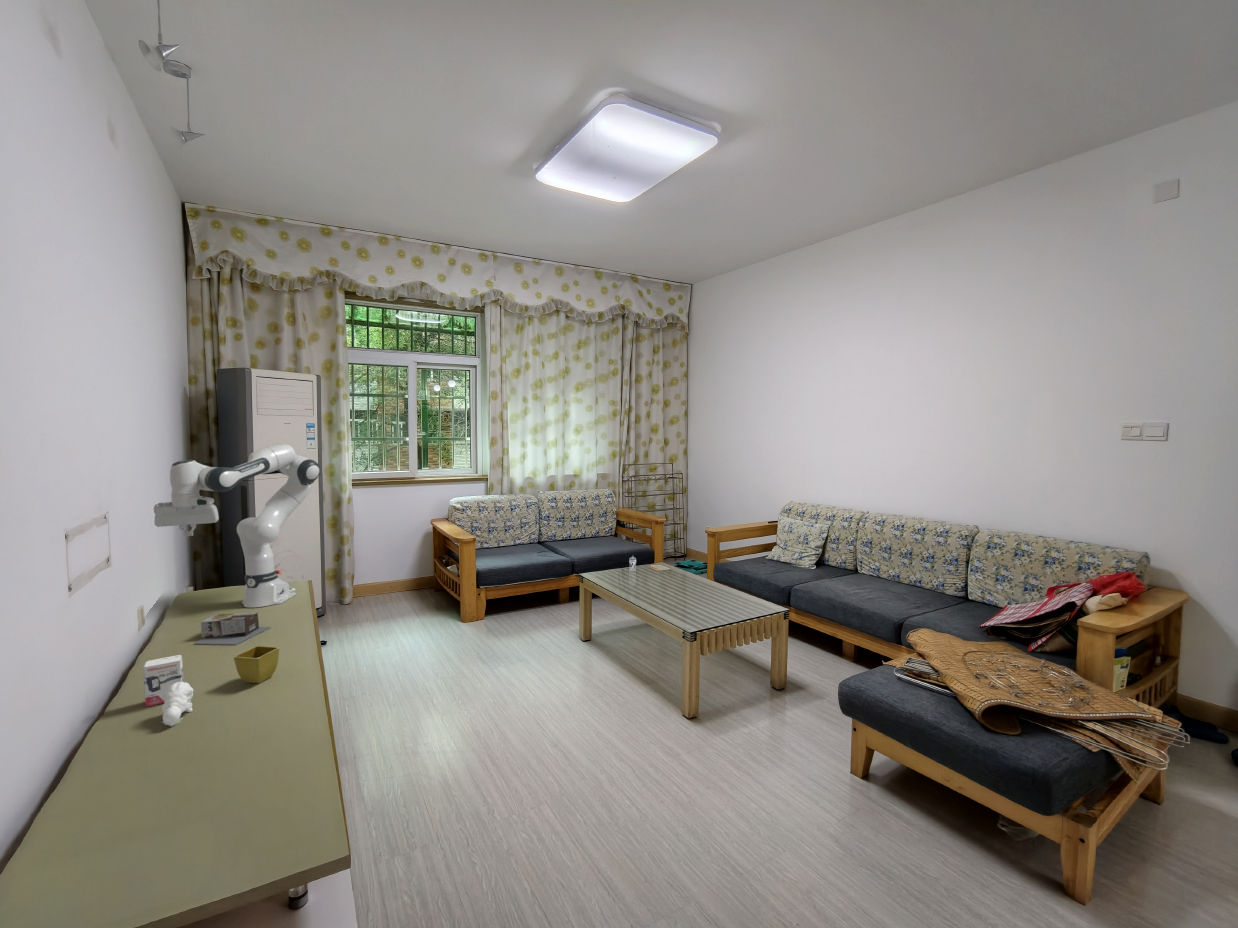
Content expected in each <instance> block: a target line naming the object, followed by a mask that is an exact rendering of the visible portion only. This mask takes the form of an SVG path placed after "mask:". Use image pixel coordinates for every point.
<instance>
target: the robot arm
mask: <svg viewBox="0 0 1238 928" xmlns="http://www.w3.org/2000/svg"><path fill="white" fill-rule="evenodd" d="M275 471H276V472H278V473H280V474H281V475H283V476H284V475H285V476H286V477H288V478H287V480H286V482H285V484H284V485H282V486H281V487H280V488H279V489H278V490H277V491H276V492H275V493H274V494H273V495H272V496H271V497H270V499H268V500H267V502H266V503H265V506H264V508H263V509H262V511H261V512H260V514H259V516H257V517H255V516H250V517H247V518H244V519H242V520H240V522H239V523H238V524H237V526H236V533H237V535H238V538H239V540H240V541H239V542H240V545H241V547H242V552H243V556H244V566H245V567H244V568H245V574H244V583H245V585H244V590H243V600H241V601H242V602H241V603H242V605H243V607H244V608H249V609H250V608H261V607H267V606H268V607H269V606H273V605H279V604H280V605H281V604H282V603H285V602H286V601H287V600H290V598H293V597H294V596H296V594H297V593H296V592H295V591H291V589H290V585H289V583H288V582H286V581H285V580H283V579H282V578H279V576H278V575H281V574H282V573H283V572H282V571H283V570H282V569H276V570H275V558H274V557H275V556H274V555H275V554H274V552H273V551H272V548H271V546H270V543H272V542H274V541H276V540H277V539H278V537H279V536H280V530H281V528H282V527H283V525H284V524H285V523H286V521H287V519H288V518H289V517H290V516H291V515H292V513H293V512H294V511H295V510H296V509H297V508H298V507H299V506H300V504H302V502H303V501H304V500H305V498H306V497H307V496H308V494H309V492H310V491H311V488H312V486H311V485H312V484H313V483H314V482H315V481H316V480H317V479H318V478H319V477H320V476H319V475H320V473H321V466H320V463H318V462H317V461H315V460H313V459H310V458H308V457H307V456H304V455H299V454H297V453H296V450H295V449H294V447H292V445H290V444H285V443H283V444H282V443H281V444H275V445H269V446H266V447H262V448H259V449H257V450H255V451H253V452H251V453H250V454H249V456H248V459H247V462H245V463H242V464H240V465H236V466H234V467H230V466H227V467H226V466H220V467H219V466H218V467H217V466H215V467H213V466H209V465H205V464H202V463H200V462H197V461H196V460H195V459H185V460H184V459H183V460H179V461H176V462H173V464H171V466H170V473H169V474H170V475H169V477H170V478H169V480H170V482H169V483H170V486H171V493H170V494H171V495H170V496H171V497H170V498H171V502H170V501H169V502H168V501H167V502H158V503H157V504H155V505H154V506H153V512H154V526H156V527H158V528H162V527H176V526H178V529H179V530H180V531H181V532H182V535H183V536H182V537H193V536H194V531H195V529H196V528H197V525H202V524H205V525H206V524H213V523H215V524H216V523H217V522H218V521H219V519H220V518H219V517H220V516H219V512H218V511H219V510H218V508H217V506H216V504H214V503H215V499H214V497H213V498H212V497H207V496H203V495H200V490H201V491H209V492H218V493H226V492H229V491H231V490H233V488H235V487H236V486H237V485H239V484H240V483H242V482H243V481H245V480H249V479H251V478H253V477H256V476H258V475H264V474H269V473H273V472H275ZM187 525H188V526H189V527H190V528H191V529H190V530H189V531H188V530H186V529H185V527H186V526H187Z"/></svg>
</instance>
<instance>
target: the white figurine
mask: <svg viewBox="0 0 1238 928" xmlns="http://www.w3.org/2000/svg"><path fill="white" fill-rule="evenodd" d="M164 697H165V698H166V700H165V703H163V705H162V707H161V710H162V711H161V713H162V714H163V715H162V720H163V721H161V720H160V722H161V723H163V724H164V726H169V727H174V725H176V724H179V723H180V722H181V720H183V719H184V716H183V717H181V716H182V713H184V712H186V713H191V712H193V708H192V707H193V703H192V702H191V701H192V699H193V697H194V688H193V687H191V685H190V683H188V682H186V681H185V682H177V683H174V684H173V685H171V686H170V687H169V688H168V689H167V691H166V692H165V694H164Z"/></svg>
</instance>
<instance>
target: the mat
mask: <svg viewBox="0 0 1238 928" xmlns="http://www.w3.org/2000/svg"><path fill="white" fill-rule="evenodd" d="M271 628H272V626H259V628H258V629H256V630H254V631H253V632H251V633H249V634H248V635H246V636H223V637H204V638H202V639H201V640H198V641H196V642H194V643H193V645H198V646H201V645H202V646H237V645H239V644H241V643H244V642H246V641H247V640H250V639H251V638H254V637H255V636H258V635H260V634H262V633H264V632H266V631H267V630H270V629H271Z"/></svg>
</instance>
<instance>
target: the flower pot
mask: <svg viewBox="0 0 1238 928" xmlns="http://www.w3.org/2000/svg"><path fill="white" fill-rule="evenodd" d="M279 655H280V647H278V646H264V645H256V646H253V647H251V648H249V649H246V651H243V652H241V653H239V654H236V655H234V656H233V660H234V664H235V668H236V672H237V674H238V675H239V678H241V680H243V681H244V682H245V683H252V684H260V683H262V682H264V681H266V680H268V679H269V678H271V677H272V676H273V675H274V673H275V671H276V669H277V667H278V665H279V664H278V663H279Z"/></svg>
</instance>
